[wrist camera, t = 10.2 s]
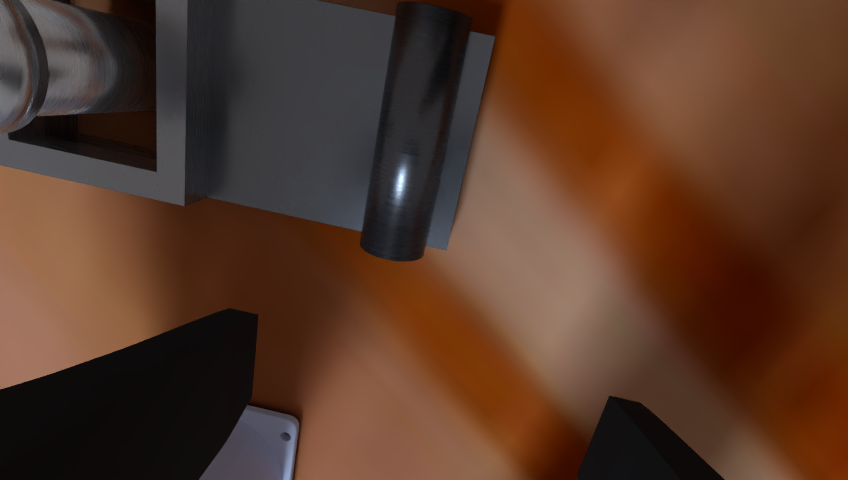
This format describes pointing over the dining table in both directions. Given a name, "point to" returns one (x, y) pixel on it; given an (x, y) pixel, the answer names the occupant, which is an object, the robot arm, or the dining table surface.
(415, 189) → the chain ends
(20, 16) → the steel pin
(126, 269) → the dining table surface
